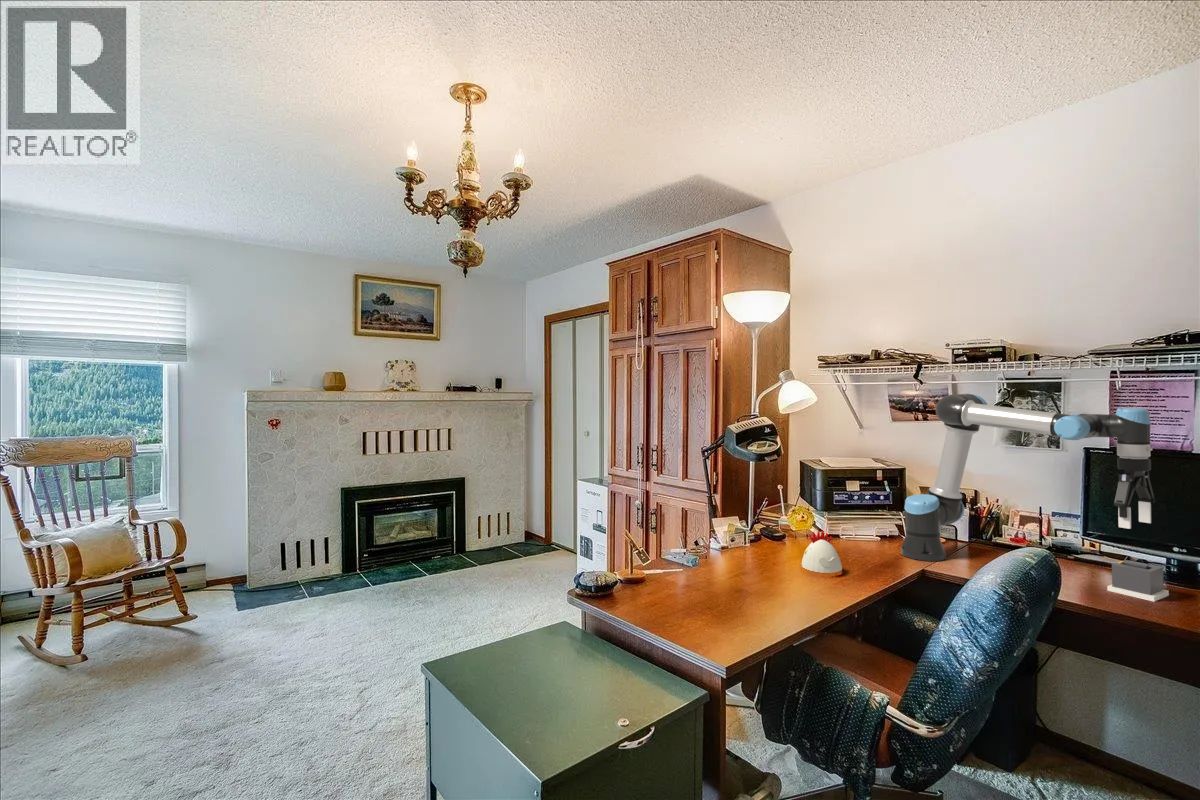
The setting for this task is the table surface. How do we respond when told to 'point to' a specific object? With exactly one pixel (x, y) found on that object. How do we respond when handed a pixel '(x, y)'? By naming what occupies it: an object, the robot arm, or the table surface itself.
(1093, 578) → the table surface
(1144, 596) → the shaft stand
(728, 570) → the table surface
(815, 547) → the kitchen timer
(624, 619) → the table surface
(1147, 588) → the gray slotted block
